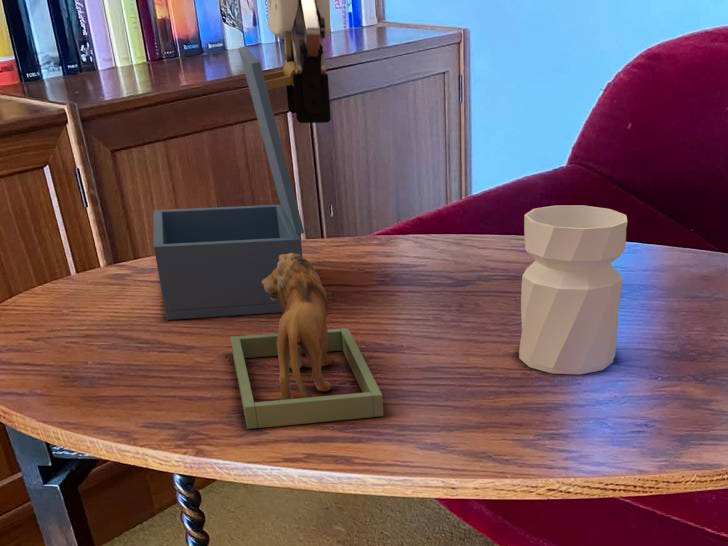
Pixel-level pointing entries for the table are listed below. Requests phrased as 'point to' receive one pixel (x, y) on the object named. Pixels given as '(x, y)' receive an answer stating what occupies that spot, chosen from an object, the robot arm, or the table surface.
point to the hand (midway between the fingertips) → (309, 115)
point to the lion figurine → (299, 321)
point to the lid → (272, 127)
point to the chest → (220, 258)
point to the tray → (312, 407)
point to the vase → (571, 288)
